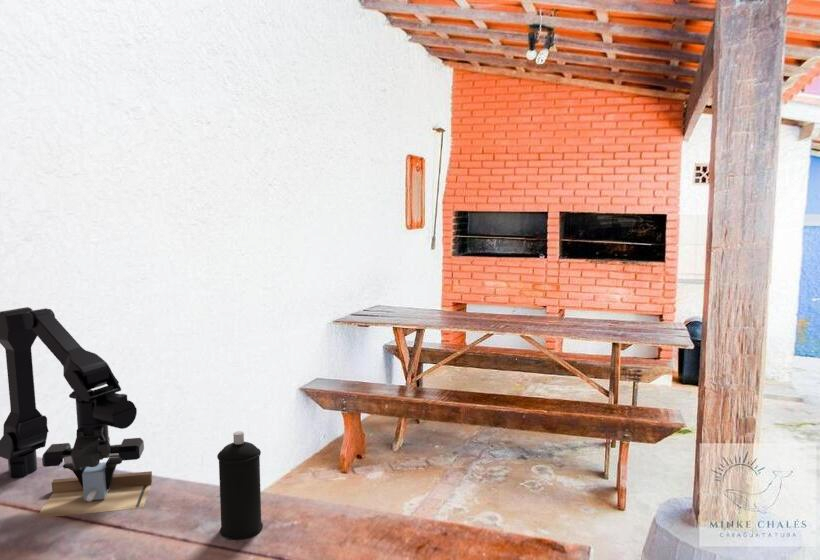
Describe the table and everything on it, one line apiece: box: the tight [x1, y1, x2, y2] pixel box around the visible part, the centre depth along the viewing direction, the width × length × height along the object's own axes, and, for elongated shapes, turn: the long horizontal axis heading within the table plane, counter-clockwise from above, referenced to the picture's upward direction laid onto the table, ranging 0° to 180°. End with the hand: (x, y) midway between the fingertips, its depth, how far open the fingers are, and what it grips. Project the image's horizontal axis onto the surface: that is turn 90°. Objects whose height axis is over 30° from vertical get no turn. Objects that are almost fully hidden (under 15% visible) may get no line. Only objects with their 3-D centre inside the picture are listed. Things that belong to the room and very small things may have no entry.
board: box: [35, 470, 153, 519], centre depth 137 cm, size 12×20×4 cm, turn 103°
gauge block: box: [82, 461, 110, 501], centre depth 136 cm, size 8×4×6 cm, turn 13°
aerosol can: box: [216, 430, 264, 541], centre depth 127 cm, size 8×8×20 cm
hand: (97, 489), depth 138 cm, fingers closed on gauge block, 4 cm apart
